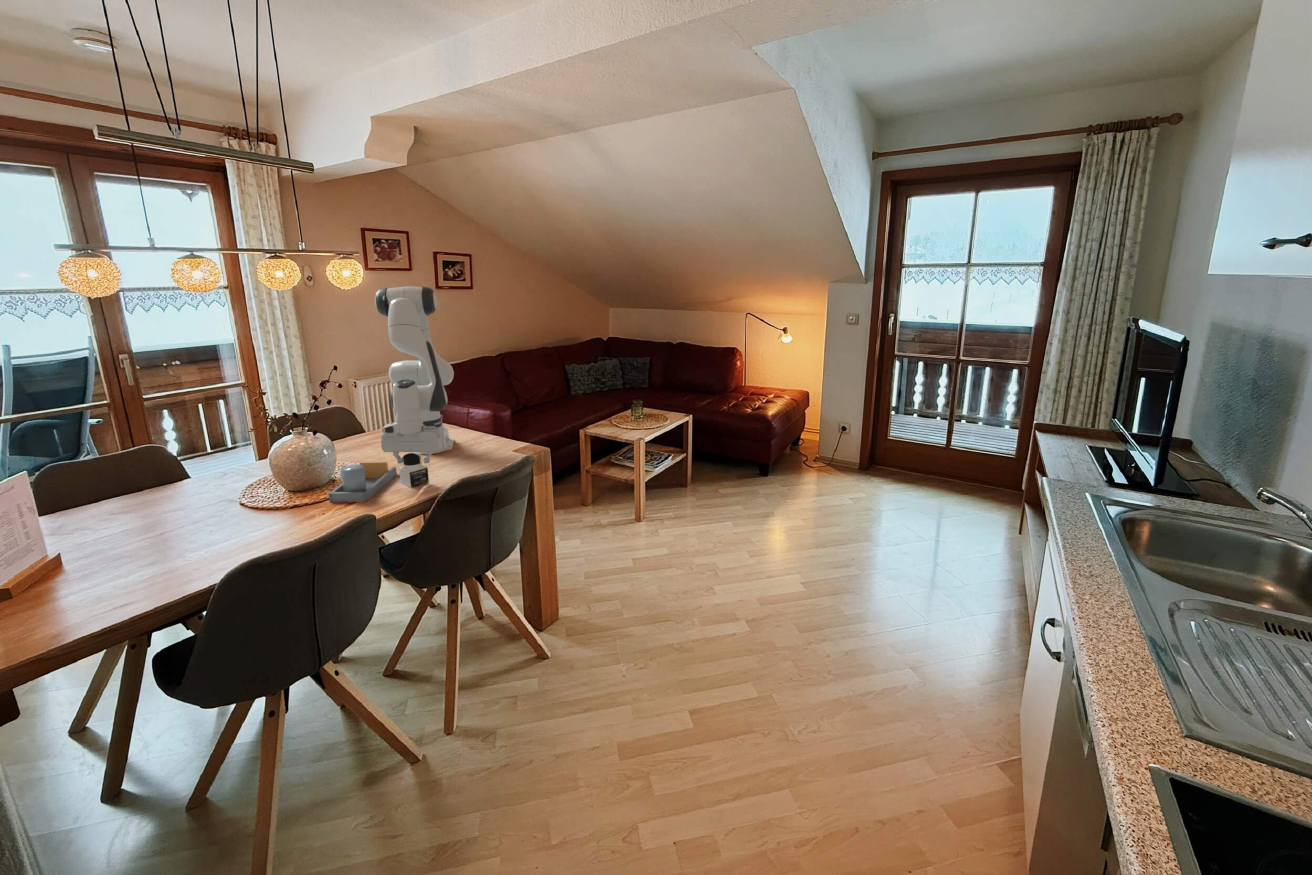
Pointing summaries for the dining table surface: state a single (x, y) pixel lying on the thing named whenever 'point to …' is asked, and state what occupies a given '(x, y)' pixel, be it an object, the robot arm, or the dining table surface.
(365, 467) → the block
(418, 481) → the medicine bottle
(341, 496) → the blue-grey tray
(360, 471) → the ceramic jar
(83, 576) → the dining table surface
